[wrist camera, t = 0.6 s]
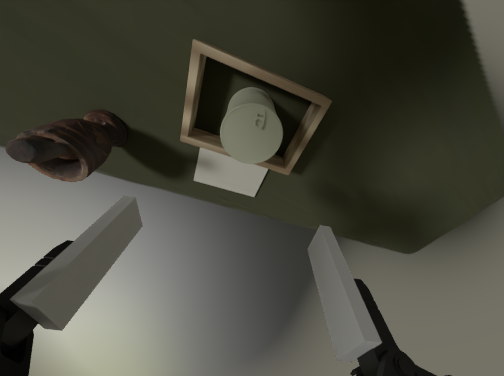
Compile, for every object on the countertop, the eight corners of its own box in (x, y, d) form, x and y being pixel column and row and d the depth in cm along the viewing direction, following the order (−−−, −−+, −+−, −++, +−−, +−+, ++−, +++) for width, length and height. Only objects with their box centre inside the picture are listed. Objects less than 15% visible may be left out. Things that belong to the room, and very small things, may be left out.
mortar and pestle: (84, 79, 31) (-85, 111, 15) (137, 105, 34) (39, 155, 18) (85, 135, 37) (-36, 198, 22) (129, 153, 40) (51, 221, 24)
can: (283, 99, 33) (296, 119, 24) (263, 142, 39) (267, 173, 29) (236, 78, 31) (230, 91, 22) (222, 127, 36) (212, 154, 27)
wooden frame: (201, 40, 28) (192, 39, 24) (322, 94, 33) (332, 101, 29) (187, 130, 37) (180, 140, 33) (284, 163, 42) (288, 175, 38)
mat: (202, 139, 38) (201, 140, 38) (270, 161, 42) (271, 163, 41) (194, 179, 44) (193, 180, 44) (254, 195, 48) (254, 197, 47)
